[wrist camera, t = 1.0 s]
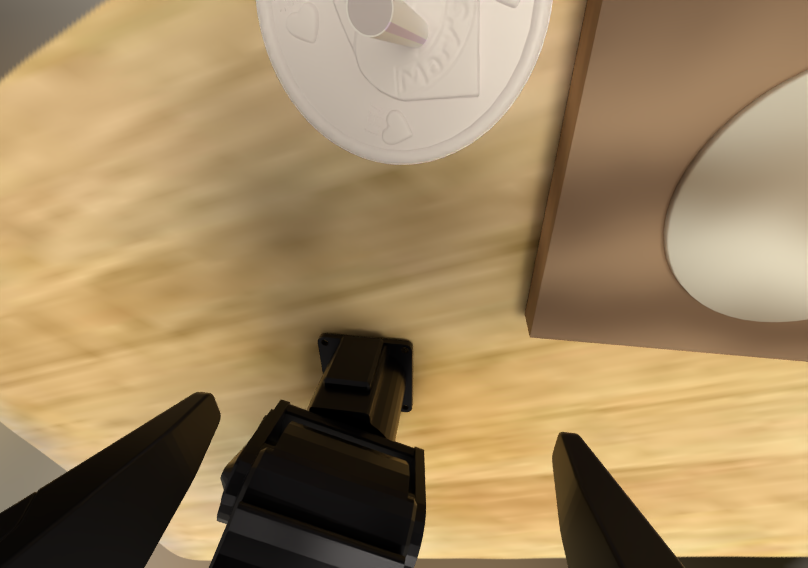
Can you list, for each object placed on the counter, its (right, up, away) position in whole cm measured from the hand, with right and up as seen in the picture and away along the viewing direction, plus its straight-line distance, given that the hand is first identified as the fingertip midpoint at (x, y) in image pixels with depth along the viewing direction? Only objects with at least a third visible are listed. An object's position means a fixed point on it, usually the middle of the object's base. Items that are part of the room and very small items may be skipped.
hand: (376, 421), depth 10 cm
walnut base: (+18, +8, +7) cm, 21 cm away
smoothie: (+2, +14, +7) cm, 16 cm away
